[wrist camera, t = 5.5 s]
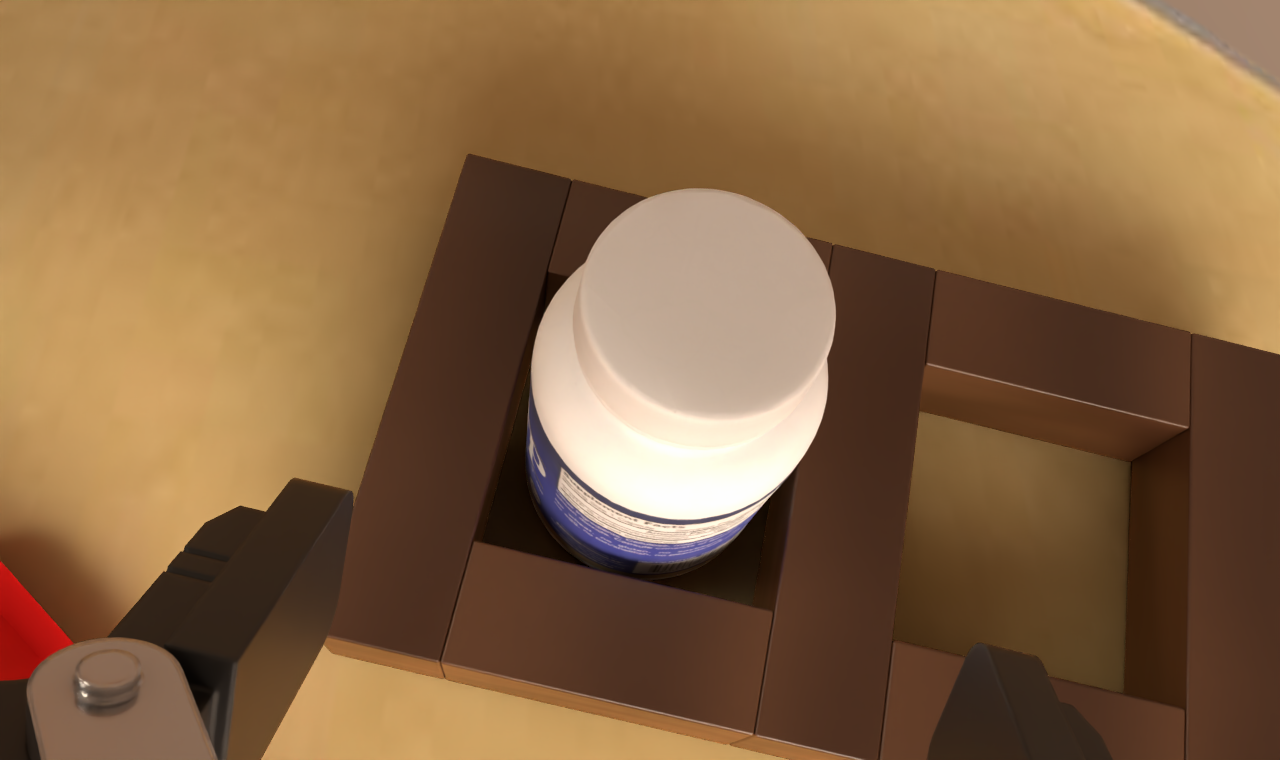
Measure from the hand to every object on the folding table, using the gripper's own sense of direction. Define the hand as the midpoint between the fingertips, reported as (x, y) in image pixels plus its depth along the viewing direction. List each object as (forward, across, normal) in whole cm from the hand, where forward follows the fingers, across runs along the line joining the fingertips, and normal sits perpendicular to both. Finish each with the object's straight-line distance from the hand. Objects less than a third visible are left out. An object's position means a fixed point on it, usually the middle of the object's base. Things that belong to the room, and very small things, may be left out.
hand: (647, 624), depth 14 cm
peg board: (+11, -4, +3) cm, 12 cm away
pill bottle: (+11, 0, +3) cm, 11 cm away
